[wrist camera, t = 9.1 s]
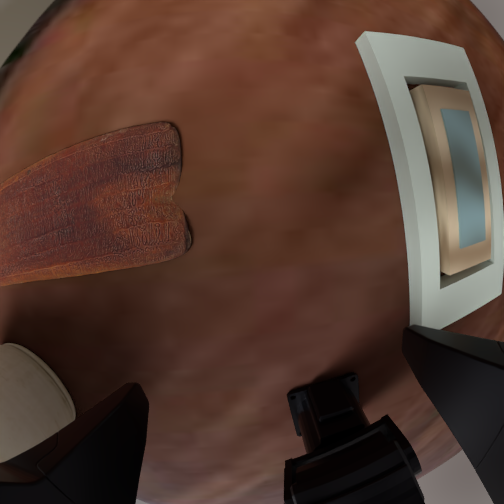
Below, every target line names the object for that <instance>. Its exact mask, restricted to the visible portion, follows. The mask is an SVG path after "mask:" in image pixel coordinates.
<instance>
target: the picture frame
mask: <svg viewBox="0 0 504 504" xmlns="http://www.w3.org/2000/svg"><path fill="white" fill-rule="evenodd" d="M409 92H410V95H411V98H412V102H413V105H414V108H415V111H416V115H417V118H418V122H419V125H420V129H421V133H422V137H423V141H424V145H425V150H426V154H427V159H428V164H429V169H430V175H431V181H432V187H433V193H434V200H435V208H436V217H437V227H438V239H439V257H440V271H441V272H443V273H445V274H447V275H452V274H455V273H457V272H460V271H462V270H465V269H467V268H470V267H472V266H475V265H477V264H479V263H482V262H484V261H486V260H489V259H491V211H490V197H489V186H488V177H487V170H486V163H485V157H484V151H483V145H482V140H481V135H480V131H479V126H478V122H477V118H476V114H475V110H474V107H473V103H472V100H471V96H470V93H469V91H466V90H460V89H455V88H448V87H441V86H433V85H425V84H422V85H420V86H418V87H416V88H414V89H412V90H410V91H409Z"/></svg>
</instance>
